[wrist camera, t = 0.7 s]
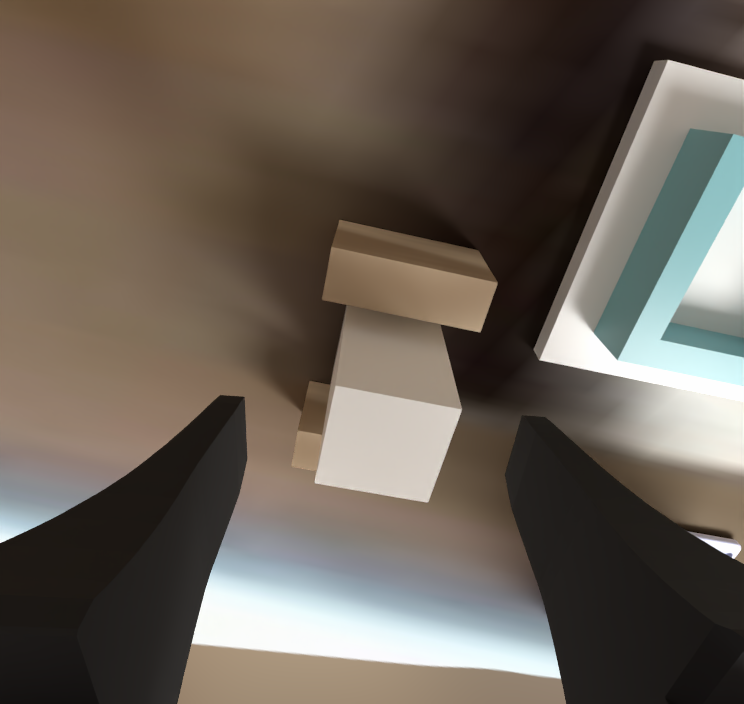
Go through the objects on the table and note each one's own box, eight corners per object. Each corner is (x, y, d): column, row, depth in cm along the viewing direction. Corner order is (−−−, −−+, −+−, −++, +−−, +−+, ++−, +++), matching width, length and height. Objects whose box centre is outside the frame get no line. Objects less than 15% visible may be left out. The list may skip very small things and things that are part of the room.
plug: (413, 382, 24) (427, 502, 17) (333, 366, 24) (314, 482, 17) (436, 308, 23) (462, 409, 16) (349, 290, 22) (335, 385, 15)
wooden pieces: (418, 434, 26) (424, 490, 22) (303, 413, 25) (291, 466, 22) (478, 250, 21) (497, 282, 18) (339, 219, 21) (331, 247, 17)
